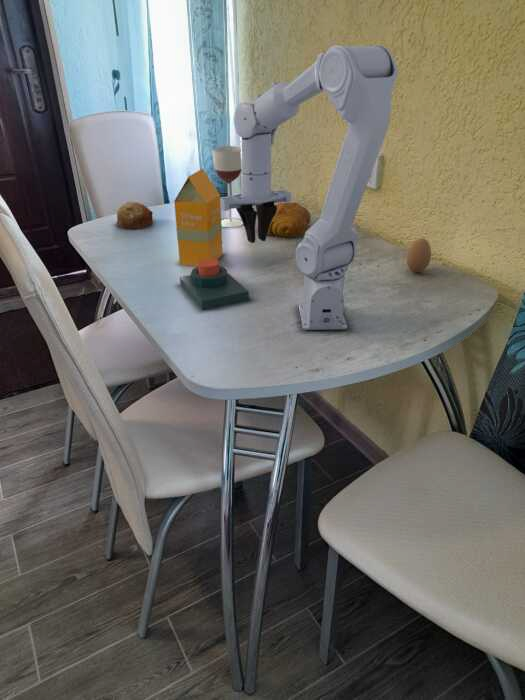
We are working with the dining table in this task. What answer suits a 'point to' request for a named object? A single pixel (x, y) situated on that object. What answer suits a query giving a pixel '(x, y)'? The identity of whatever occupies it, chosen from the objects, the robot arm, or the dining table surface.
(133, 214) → the bread roll
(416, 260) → the egg
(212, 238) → the orange juice
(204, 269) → the push button
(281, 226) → the golden brown pastry bun
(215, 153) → the wineglass
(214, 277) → the green button base
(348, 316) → the dining table surface
